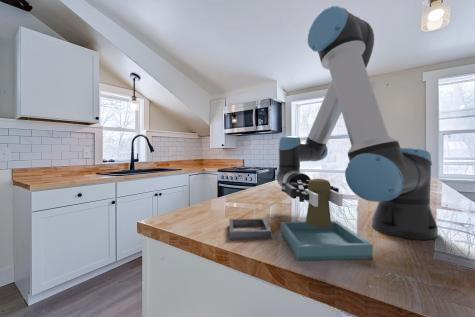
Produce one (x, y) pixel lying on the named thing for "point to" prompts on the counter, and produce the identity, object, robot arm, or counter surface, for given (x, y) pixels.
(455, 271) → the counter surface
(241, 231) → the grey square holder
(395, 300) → the counter surface
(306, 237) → the tray
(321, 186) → the olive tall rounded piece
